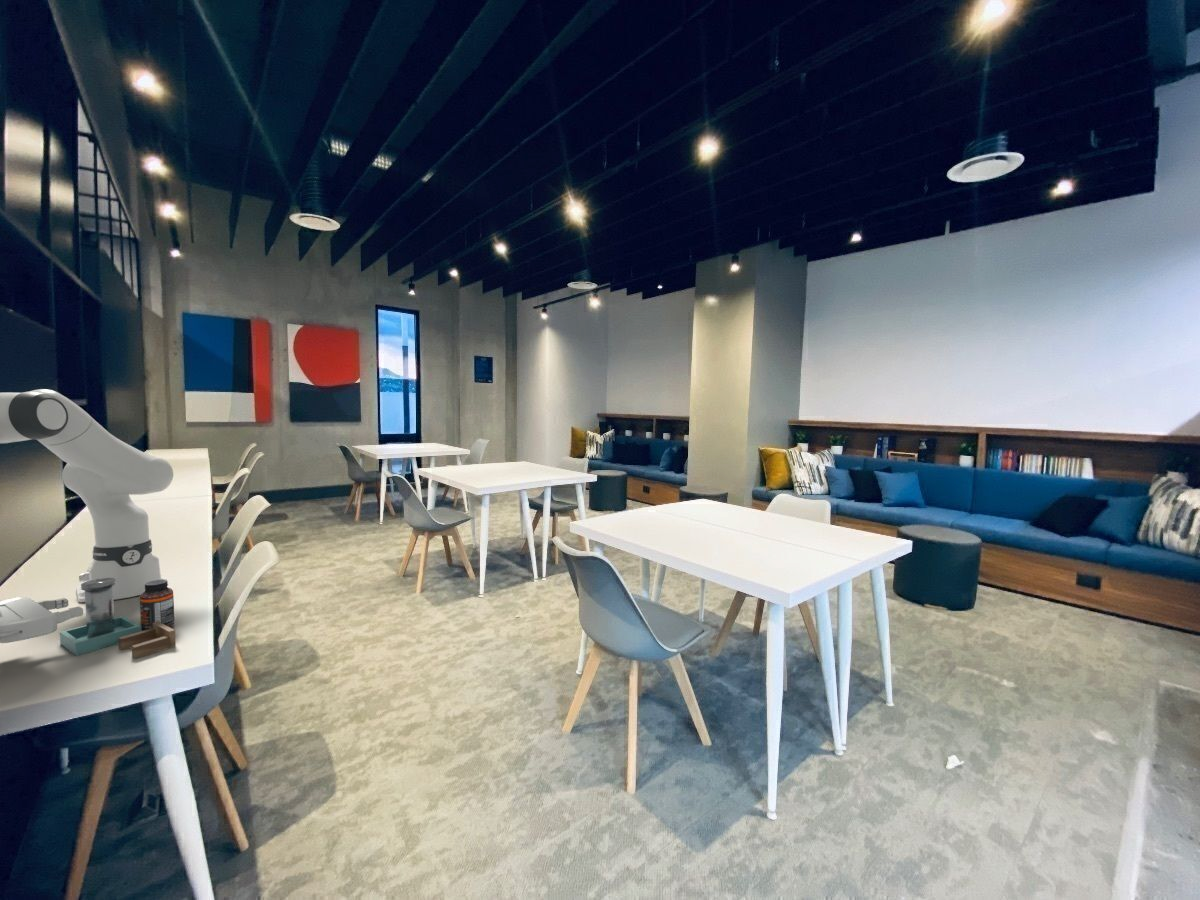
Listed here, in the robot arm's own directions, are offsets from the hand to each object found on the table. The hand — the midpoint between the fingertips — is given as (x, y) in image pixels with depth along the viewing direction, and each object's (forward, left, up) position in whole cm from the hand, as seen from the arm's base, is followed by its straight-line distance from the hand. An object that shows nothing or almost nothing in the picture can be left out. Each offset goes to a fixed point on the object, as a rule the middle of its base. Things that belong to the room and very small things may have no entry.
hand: (74, 606), depth 108 cm
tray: (0, +4, -9) cm, 10 cm away
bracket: (+13, +8, -9) cm, 17 cm away
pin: (0, +4, -8) cm, 9 cm away
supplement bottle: (+3, +13, -9) cm, 16 cm away
